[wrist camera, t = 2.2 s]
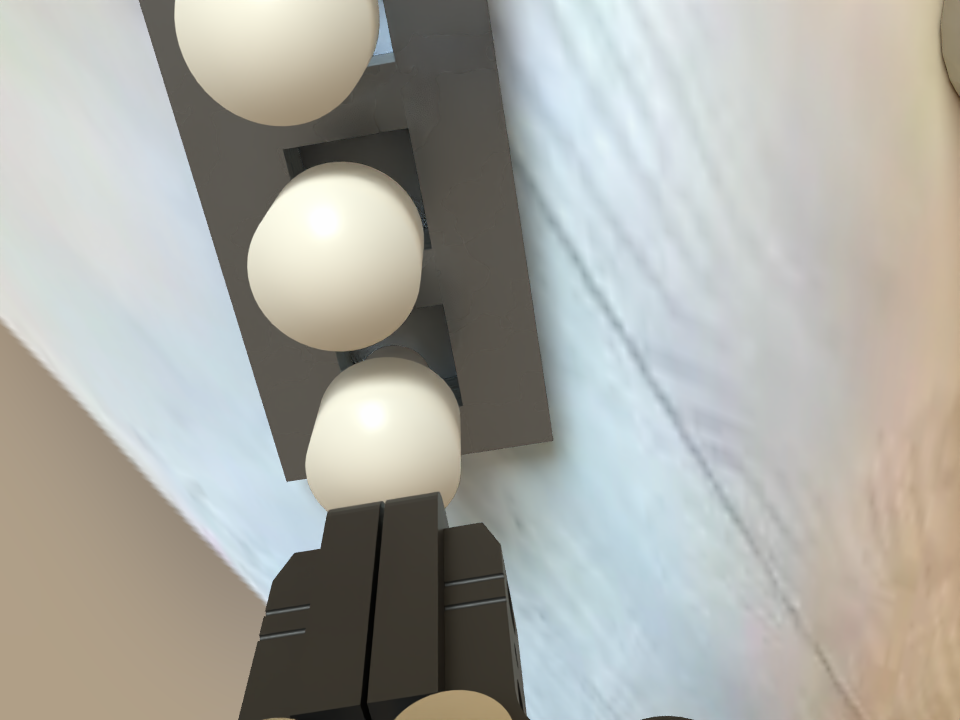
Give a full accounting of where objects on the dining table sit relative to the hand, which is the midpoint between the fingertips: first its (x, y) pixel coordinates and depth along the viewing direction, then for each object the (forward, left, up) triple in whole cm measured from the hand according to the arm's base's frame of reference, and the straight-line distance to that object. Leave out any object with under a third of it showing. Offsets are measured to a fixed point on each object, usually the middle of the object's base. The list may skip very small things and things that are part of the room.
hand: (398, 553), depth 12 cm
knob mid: (+2, 0, -18) cm, 18 cm away
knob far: (+2, +6, -18) cm, 19 cm away
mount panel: (+2, 0, -21) cm, 21 cm away
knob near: (+2, -6, -18) cm, 19 cm away
